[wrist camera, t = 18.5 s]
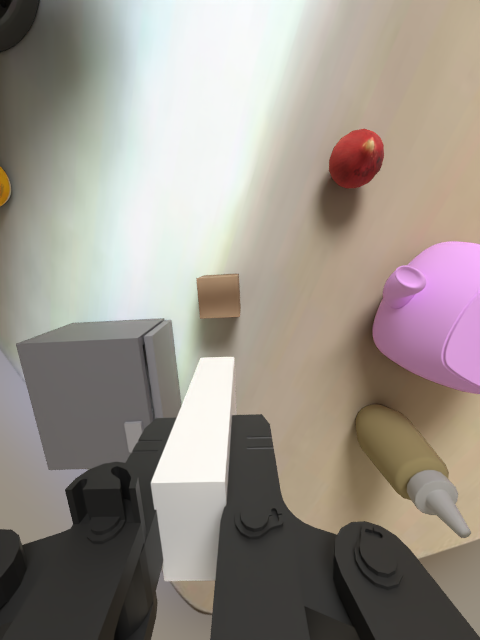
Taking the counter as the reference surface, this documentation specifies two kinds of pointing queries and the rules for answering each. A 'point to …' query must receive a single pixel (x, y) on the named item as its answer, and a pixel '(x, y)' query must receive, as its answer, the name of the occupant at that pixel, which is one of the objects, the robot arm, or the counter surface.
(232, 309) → the brown wooden block
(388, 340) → the teapot
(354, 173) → the onion
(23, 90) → the counter surface
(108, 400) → the box
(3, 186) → the beer can
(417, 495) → the squeeze bottle
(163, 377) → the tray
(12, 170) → the counter surface
